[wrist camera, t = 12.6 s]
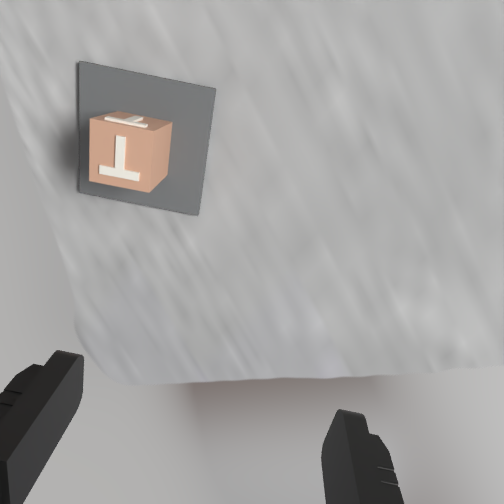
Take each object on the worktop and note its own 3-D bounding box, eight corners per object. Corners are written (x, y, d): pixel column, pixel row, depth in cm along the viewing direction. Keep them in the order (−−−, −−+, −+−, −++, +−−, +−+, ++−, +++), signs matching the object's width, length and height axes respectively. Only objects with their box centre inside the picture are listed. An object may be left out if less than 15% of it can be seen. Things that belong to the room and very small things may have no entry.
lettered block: (118, 108, 36) (88, 116, 30) (172, 119, 36) (153, 128, 30) (116, 165, 38) (88, 181, 32) (167, 175, 38) (148, 193, 32)
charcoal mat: (82, 61, 35) (79, 61, 34) (216, 88, 35) (215, 88, 34) (82, 190, 40) (79, 192, 39) (198, 213, 40) (197, 215, 40)
